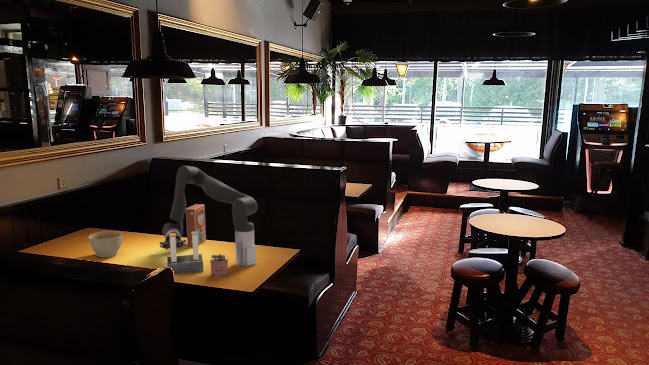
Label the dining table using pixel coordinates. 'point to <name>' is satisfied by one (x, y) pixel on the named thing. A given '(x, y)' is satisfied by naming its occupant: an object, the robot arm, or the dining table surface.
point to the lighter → (219, 266)
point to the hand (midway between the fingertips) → (173, 248)
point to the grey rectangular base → (186, 264)
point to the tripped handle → (173, 247)
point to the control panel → (195, 223)
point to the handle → (195, 245)
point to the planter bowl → (106, 243)
